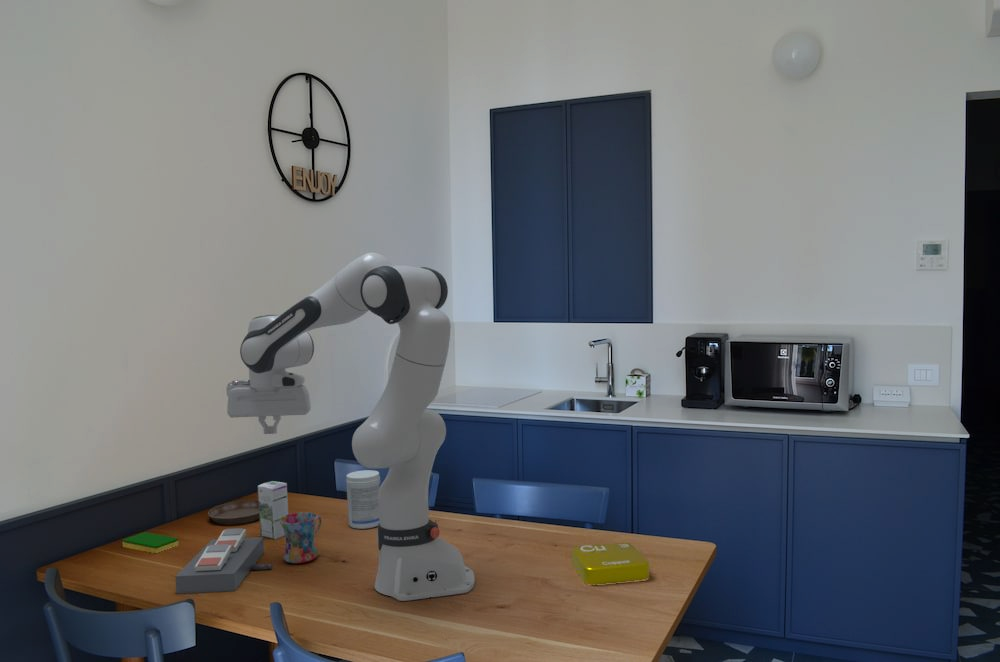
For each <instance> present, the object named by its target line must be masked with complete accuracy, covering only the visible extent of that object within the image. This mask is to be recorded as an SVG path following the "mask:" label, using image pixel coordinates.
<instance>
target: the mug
mask: <svg viewBox="0 0 1000 662" xmlns="http://www.w3.org/2000/svg"><path fill="white" fill-rule="evenodd" d="M317 521H318V525H317ZM322 521H323V520H322V518H321V517H320V516H319V515H318V514H317V513H314V512H307V511H305V512H304V511H303V512H294V513H290V514H289V513H288V515H286V516H283V517H282V518H280V523H281V525H282V527H283V530H284V533H285V536H284V537H285V551H284V554H283V557H282V559H283V561H284V562H287V563H288V564H289V563H291V564H303V563H308V562H310V561H314V560H315V559H316V558H317V557H318V556H319V553H318V550H317V548H316V546H315V538H316V536H317V535H318V534H319V531H320V529H321V526H322ZM316 525H317V528H316ZM315 528H316V531H315Z"/></svg>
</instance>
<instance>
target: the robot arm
mask: <svg viewBox="0 0 1000 662" xmlns="http://www.w3.org/2000/svg"><path fill="white" fill-rule="evenodd" d="M448 289H449V287H448V283H447V280H446V279H445V276H443V275H442V273H440V272H439V271H437V270H435V269H432V268H430V267H426V266H419V267H418V266H411V265H408V264H406V265H405V264H404V265H403V264H402V265H400V264H399V265H398V264H397V265H393V264H392V262H390V260H389V259H388V258H387V257H385V255H382V254H380V253H378V252H371V251H369V252H367V253H365V254H362V255H360V256H359V257H357V258H355V259H354V260H352V261H350V262H349V263H348V264H347V265H346V266H344V267H343V268H341V269H340V270H339V271H338V272H337V273H336V274H335V275H334V276H332V278H330V279H329V280H328V281H327V282H325V283H323V285H322V286H320V287H319V288H317V289H316V290H314V292H312V293H310V294H309V295H308V296H306V297H304V298H303V299H302V300H299V302H296V303H295V304H294V305H292V306H291V307H289V308H288V309H287V310H286V311H284V312H283V313H282V314H280V315H277V314H266V315H260V316H256V317H253V318H252V319H250V321H249V323H248V328H247V329H248V330H247V334H246V335H245V337H244V338H243V340H242V342H241V344H240V348H239V349H240V350H239V352H240V353H239V354H240V359H241V360H242V362H243V364H244V365H245V366H246V368H248V377H249V378H248V379H243V380H238V379H237V380H232V381H231V382H229V383H227V385H226V396H227V397H228V399H227V408H226V409H227V411H226V413H227V415H228V416H229V417H230V418H255V417H257V418H258V422H259V424H260V425H261V426H262V428H263V434H264V435H273V434H277V433H278V428H277V427H278V425H279V423H280V421H281V419H282V416H285V417H286V416H303V415H304V416H305V415H307V414H308V413H310V411H311V400H310V394H309V390H308V388H307V386H306V385H304V384H305V377H304V375H303V374H299V373H295V372H290V371H288V370H286V369H290V368H297V367H302V366H304V365H307V364H308V363H309V362H310V361H311V360H312V358H313V355H314V351H315V344H314V341H313V337H312V336H311V334H310V333H309V331H312V330H315V329H320V328H326V327H331V326H337V325H343V324H348V323H350V322H351V323H352V322H353V321H355V320H357V319H359V318H361V317H363V316H364V315H366V314H367V313H368V311H370V312H371V313H373V314H374V315H376V316H378V317H380V318H381V319H382V320H383V321H384V322H385V323H387V324H388V325H394V324H397V325H398V327H399V338H398V342H397V344H396V345H397V346H396V349H395V354H394V357H393V362H392V365H391V369H390V373H389V377H388V380H387V383H386V386H385V388H384V390H383V392H382V394H381V396H380V398H379V400H378V401H377V403H376V405H375V406H374V408H373V409H372V411H371V413H369V415H368V417H367V418H366V420H364V422H363V423H362V424H360V425H359V426H358V427H357V428H356V429H355V431H354V433H353V435H352V438H351V439H352V440H351V447H352V448H351V449H352V454H353V455H354V458H355V460H357V462H358V464H360V465H361V466H363V467H365V468H367V469H389V470H388V472H387V474H386V477H385V479H384V480H383V481H382V483H380V484H381V486H380V488H379V492H378V501H379V524H378V526H377V531H376V532H377V533H376V535H377V536H376V537H377V547H378V551H379V554H378V568H377V574H376V577H375V583H374V589H375V591H377V592H378V593H380V594H383V595H384V596H390V597H392V598H394V599H396V601H398V602H399V601H400V602H407V601H414V600H423V599H429V598H430V597H431V598H438V597H445V596H452V595H454V596H455V595H459V594H467V593H469V592H470V591H471V590H472V589H473V588H474V587H475V583H476V580H475V578H476V577H475V573H474V571H473V569H472V568H470V567H468V566H466V565H465V562H464V558H463V556H462V553H461V551H460V550H459V549H458V548H457V547H456V546H455V545H452V544H451V543H449V542H448V541H446V540H445V539H443V538H442V537H440V534H441V531H440V528H439V525H438V522H437V520H434V521H433V520H431V519H430V518H429V517H430V515H429V514H430V513H429V487H430V486H429V485H430V479H431V475H432V470H433V465H434V462H435V459H436V455H437V454H438V452H439V449H440V448H441V446H442V445H443V444H444V442H445V440H446V435H447V427H446V423H445V421H444V419H443V417H442V416H441V415H440V414H439V413H438V412H437V411H435V410H433V409H429V408H428V407H429V406H430V405H431V403H433V402H434V400H435V399H436V397H437V396H438V393H439V388H440V385H441V381H442V377H443V373H444V370H445V366H446V361H447V358H448V353H449V347H450V339H451V328H452V327H451V321H450V318H449V317H448V315H447V314H446V313H445V312H444V311H443V310H440V309H442V307H443V306H444V304H445V303H446V301H447V298H448V293H449V290H448ZM427 408H428V409H427ZM267 417H272V419H273V421H274V423H273V425H268V424H267V423H266V419H267Z"/></svg>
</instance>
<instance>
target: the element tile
mask: <svg viewBox="0 0 1000 662" xmlns="http://www.w3.org/2000/svg"><path fill="white" fill-rule="evenodd" d="M572 565H573V566H572ZM571 566H572V568H573V567H574V568H575V569H576V571H577V572H578V573H577V572H576V571H575V572H576V573H577V575H578V574H579V575H580V576H579V575H578V576H579V578H580V577H581V578H582V579H581V578H580V579H581V581H582V580H583V581H584V582H585V583H587V584H591V585H593V584H595V585H597V584H606V583H617V582H626V581H634V580H642V579H647V578H649V579H650V562H649V560H647V558H646V557H645V556H644V555H643V554H642V553H641V552H640V551H639V550H638V549H637V548H636V547H635V546H634V545H633V544H631V543H630V542H619V543H617V542H616V543H607V544H606V543H605V544H594V545H593V544H592V545H582V546H581V545H580V546H574V547H572V549H571ZM574 568H573V569H574ZM575 569H574V570H575ZM583 581H582V582H583ZM584 582H583V583H584Z"/></svg>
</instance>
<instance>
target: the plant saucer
mask: <svg viewBox="0 0 1000 662" xmlns="http://www.w3.org/2000/svg"><path fill="white" fill-rule="evenodd" d="M207 515H208V516H209V517H210V519H211V520H213V521H214V522H215V523H216V524H218V525H226V526H227V525H231V526H235V525H243V524H248V523H252V522H255V521H259V520H260V515H259V499H247V500H246V499H245V500H238V501H236V500H235V501H231V502H227V503H224V504H220V505H219V504H218V505H217V506H214V507H213V508H210V510H209V511H208V513H207Z"/></svg>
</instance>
